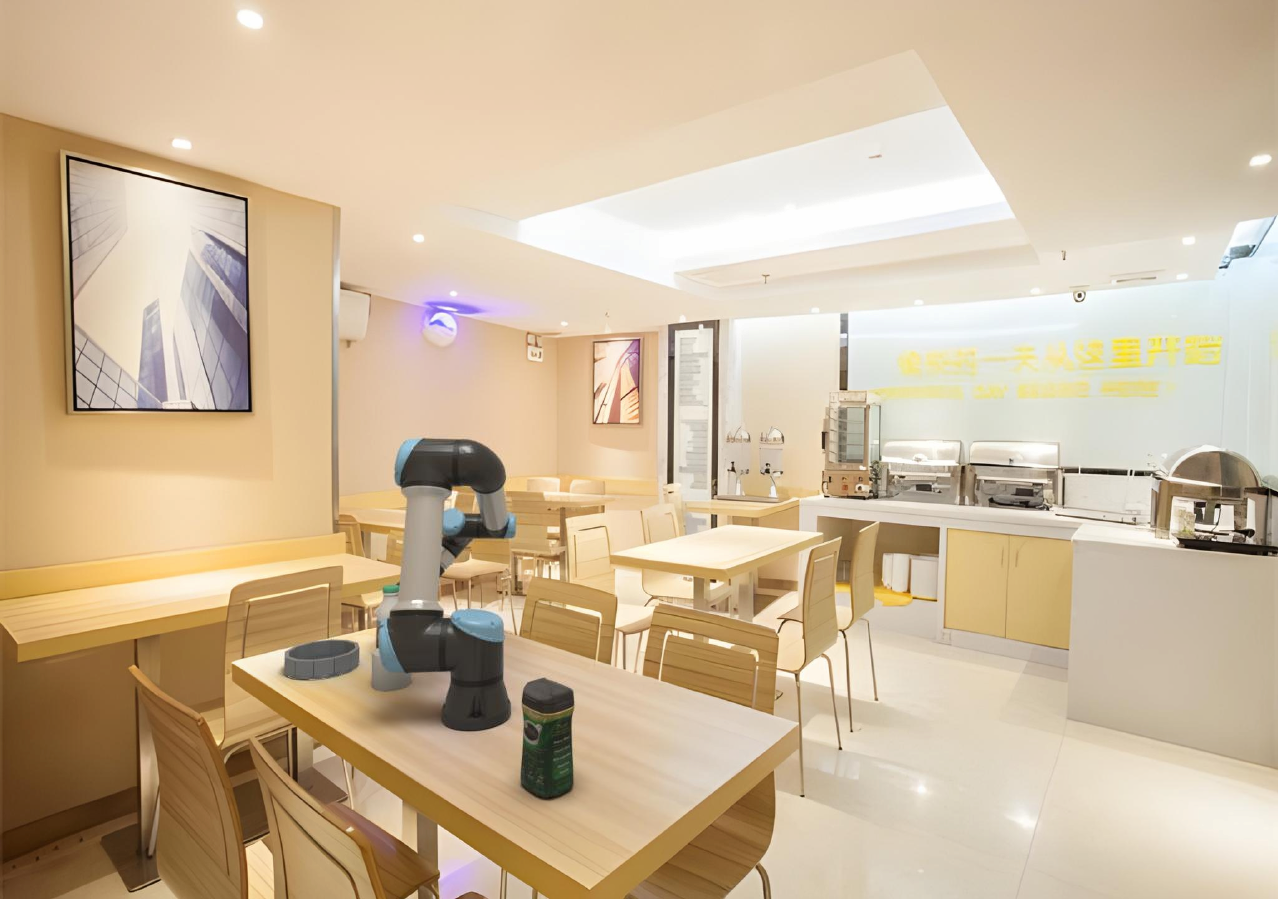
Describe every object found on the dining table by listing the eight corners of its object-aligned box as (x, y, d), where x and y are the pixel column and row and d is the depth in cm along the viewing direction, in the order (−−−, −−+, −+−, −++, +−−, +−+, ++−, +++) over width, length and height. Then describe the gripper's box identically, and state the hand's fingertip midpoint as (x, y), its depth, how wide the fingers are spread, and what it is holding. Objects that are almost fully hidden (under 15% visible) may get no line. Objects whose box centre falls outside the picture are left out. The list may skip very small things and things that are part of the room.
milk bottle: (377, 652, 187) (377, 583, 187) (405, 649, 189) (406, 582, 189) (374, 660, 180) (375, 589, 180) (403, 658, 182) (404, 588, 182)
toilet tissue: (398, 671, 172) (398, 639, 172) (416, 686, 162) (416, 652, 161) (363, 678, 166) (363, 645, 166) (379, 694, 156) (379, 659, 156)
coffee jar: (581, 787, 115) (582, 685, 115) (545, 804, 109) (547, 696, 109) (548, 767, 122) (549, 670, 122) (513, 783, 116) (514, 681, 116)
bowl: (372, 665, 176) (372, 647, 176) (309, 685, 161) (310, 665, 161) (333, 653, 186) (333, 635, 185) (270, 671, 170) (270, 652, 170)
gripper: (462, 577, 186) (411, 638, 176) (427, 564, 205) (379, 619, 195) (445, 561, 182) (392, 622, 172) (411, 549, 201) (361, 604, 191)
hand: (385, 620), depth 184 cm, fingers open, 13 cm apart
